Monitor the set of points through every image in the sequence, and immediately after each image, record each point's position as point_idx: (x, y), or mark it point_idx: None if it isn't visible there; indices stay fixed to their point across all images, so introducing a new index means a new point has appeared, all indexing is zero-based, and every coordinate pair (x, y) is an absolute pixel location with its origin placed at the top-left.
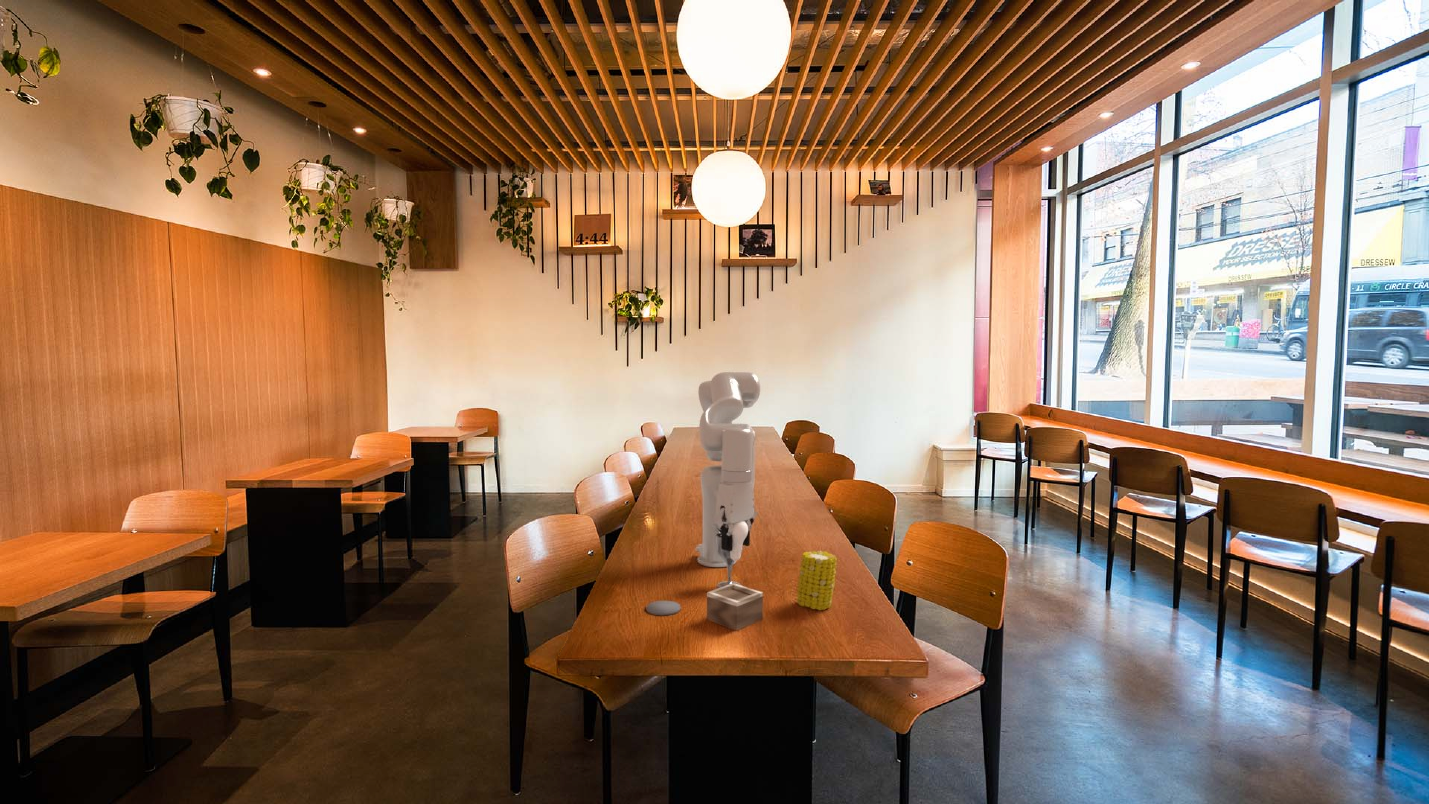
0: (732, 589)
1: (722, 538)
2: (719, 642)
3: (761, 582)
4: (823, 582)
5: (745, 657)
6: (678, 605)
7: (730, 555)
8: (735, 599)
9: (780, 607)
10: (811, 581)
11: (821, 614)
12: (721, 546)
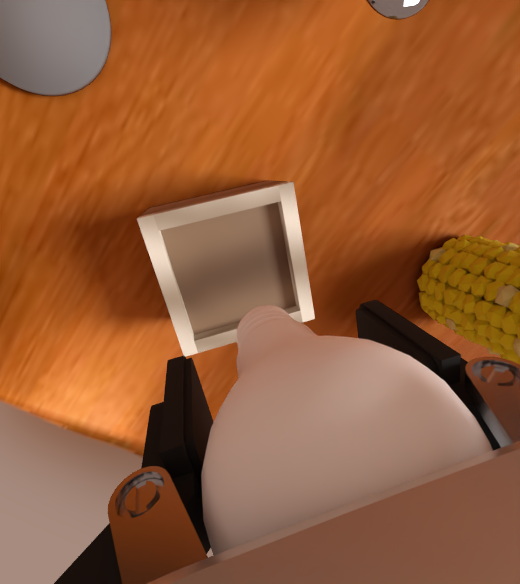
0: (267, 205)
1: (146, 458)
2: (105, 355)
3: (498, 22)
4: (493, 353)
5: (123, 438)
6: (101, 42)
7: (241, 327)
8: (217, 296)
9: (380, 245)
10: (478, 333)
11: None
12: (167, 366)
